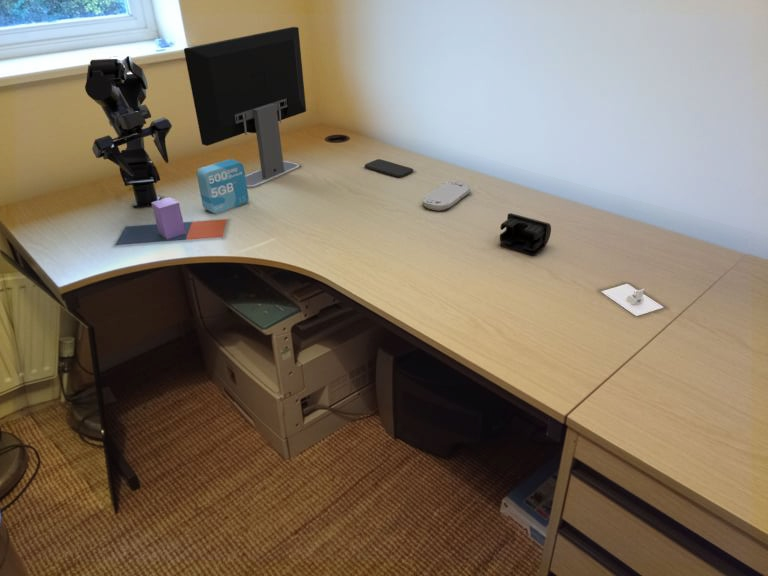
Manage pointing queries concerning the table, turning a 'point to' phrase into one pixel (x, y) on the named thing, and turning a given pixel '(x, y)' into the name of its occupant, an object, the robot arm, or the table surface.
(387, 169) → the phone
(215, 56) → the computer monitor
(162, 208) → the block
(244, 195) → the data package
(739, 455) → the table surface
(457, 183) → the game console
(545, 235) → the end cap
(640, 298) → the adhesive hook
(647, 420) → the table surface
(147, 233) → the mat
